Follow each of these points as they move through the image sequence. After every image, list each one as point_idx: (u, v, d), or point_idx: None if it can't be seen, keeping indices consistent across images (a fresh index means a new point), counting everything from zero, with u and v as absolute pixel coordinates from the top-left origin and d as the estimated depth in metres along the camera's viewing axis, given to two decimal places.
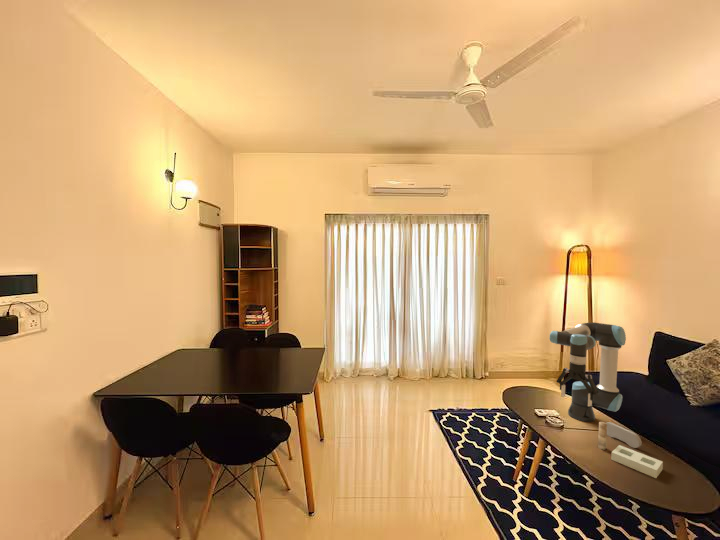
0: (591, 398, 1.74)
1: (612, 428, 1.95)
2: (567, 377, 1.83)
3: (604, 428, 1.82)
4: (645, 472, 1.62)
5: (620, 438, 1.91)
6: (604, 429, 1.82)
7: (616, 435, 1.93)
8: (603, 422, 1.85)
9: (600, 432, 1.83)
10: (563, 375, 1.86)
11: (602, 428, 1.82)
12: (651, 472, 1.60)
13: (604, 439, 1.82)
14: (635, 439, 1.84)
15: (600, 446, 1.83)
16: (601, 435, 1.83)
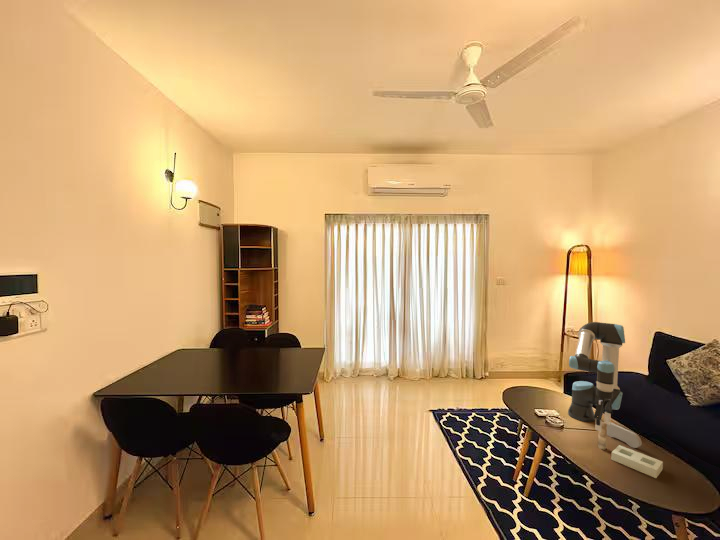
0: None
1: (612, 428, 1.95)
2: None
3: (604, 428, 1.82)
4: (645, 472, 1.62)
5: (620, 438, 1.91)
6: (604, 429, 1.82)
7: (616, 435, 1.93)
8: (603, 422, 1.85)
9: (600, 432, 1.83)
10: None
11: (602, 428, 1.82)
12: (651, 472, 1.60)
13: (604, 439, 1.82)
14: (635, 439, 1.84)
15: (600, 446, 1.83)
16: (601, 435, 1.83)
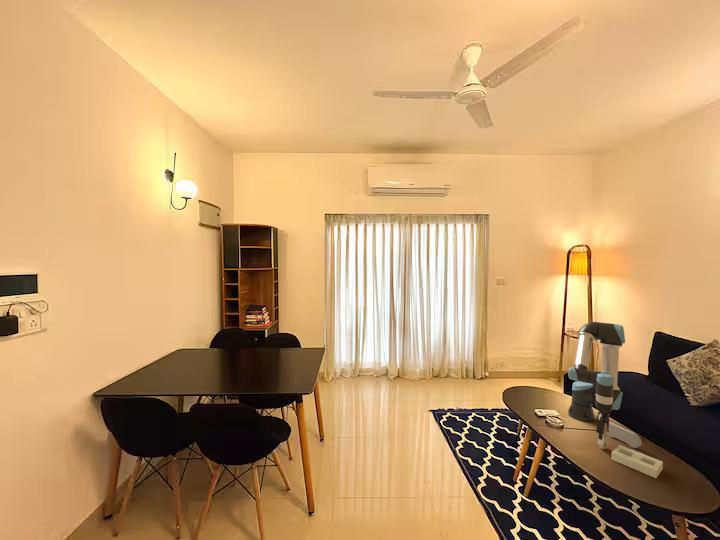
0: None
1: (612, 428, 1.95)
2: None
3: (604, 428, 1.82)
4: (645, 472, 1.62)
5: (620, 438, 1.91)
6: (604, 429, 1.82)
7: (616, 435, 1.93)
8: None
9: None
10: None
11: None
12: (651, 472, 1.60)
13: (604, 439, 1.82)
14: (635, 439, 1.84)
15: (600, 446, 1.83)
16: None
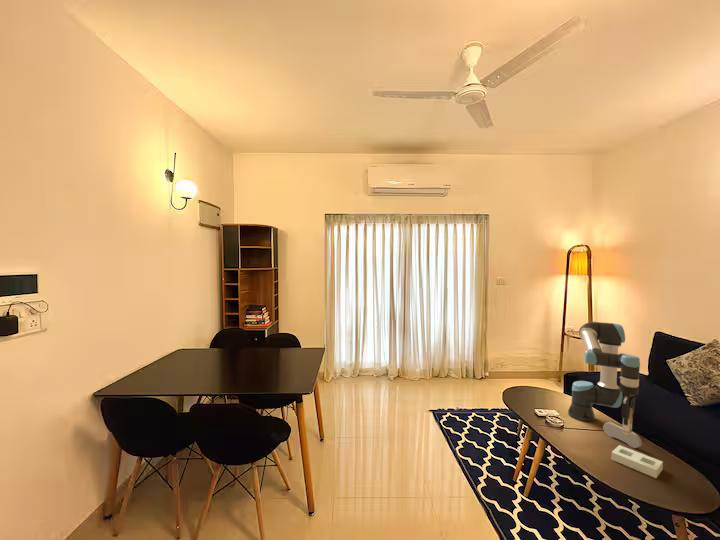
0: None
1: (612, 428, 1.95)
2: None
3: None
4: (645, 472, 1.62)
5: (620, 438, 1.91)
6: (630, 414, 1.70)
7: (616, 435, 1.93)
8: None
9: None
10: None
11: None
12: (651, 472, 1.60)
13: None
14: (635, 439, 1.84)
15: (625, 432, 1.71)
16: None
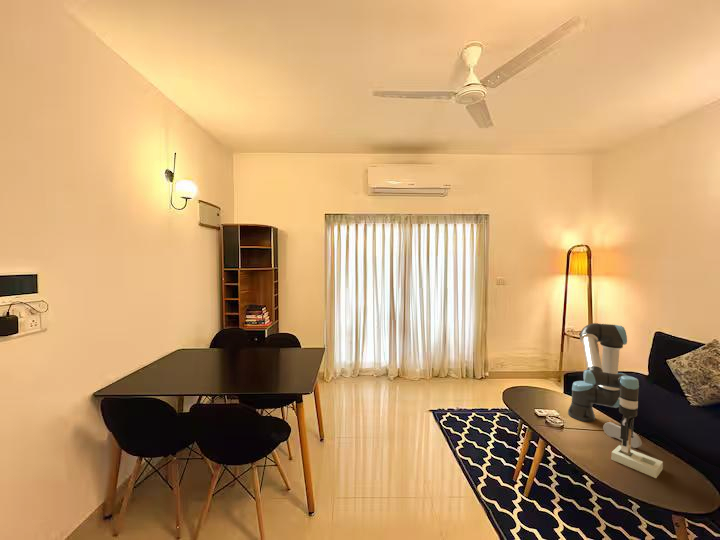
0: None
1: (612, 428, 1.95)
2: None
3: None
4: (645, 472, 1.62)
5: (620, 438, 1.91)
6: (629, 435, 1.71)
7: (616, 435, 1.93)
8: None
9: None
10: None
11: None
12: (651, 472, 1.60)
13: (628, 446, 1.71)
14: (635, 439, 1.84)
15: (624, 453, 1.72)
16: None
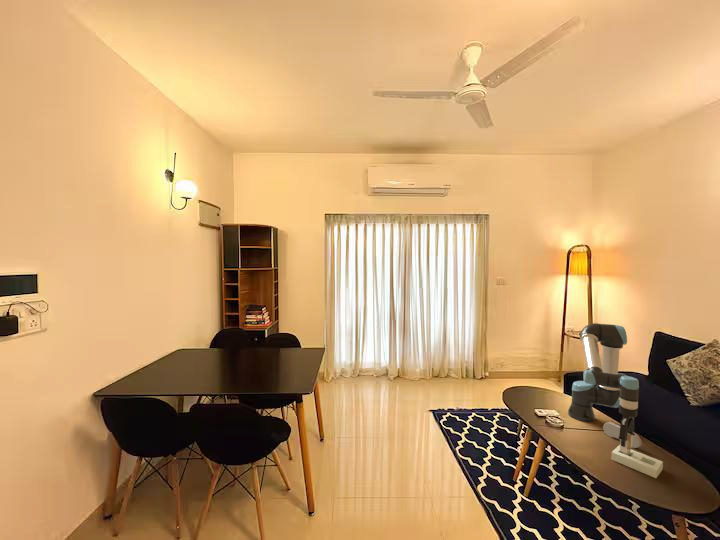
0: None
1: (612, 428, 1.95)
2: None
3: (628, 439, 1.71)
4: (645, 472, 1.62)
5: None
6: (629, 440, 1.71)
7: (616, 435, 1.93)
8: None
9: None
10: None
11: None
12: (651, 472, 1.60)
13: (628, 451, 1.71)
14: (635, 439, 1.84)
15: None
16: None
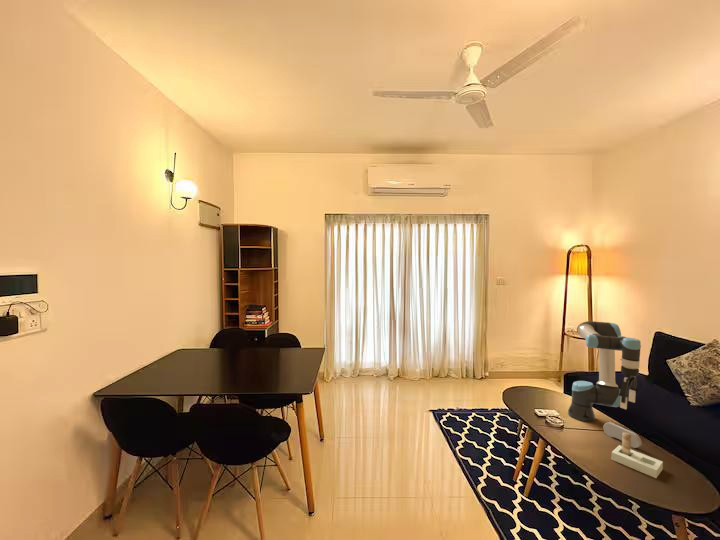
0: None
1: (612, 428, 1.95)
2: None
3: (628, 439, 1.71)
4: (645, 472, 1.62)
5: (620, 438, 1.91)
6: (629, 440, 1.71)
7: (616, 435, 1.93)
8: (627, 433, 1.74)
9: (624, 443, 1.72)
10: None
11: (626, 439, 1.71)
12: (651, 472, 1.60)
13: (628, 451, 1.71)
14: (635, 439, 1.84)
15: None
16: (625, 446, 1.72)
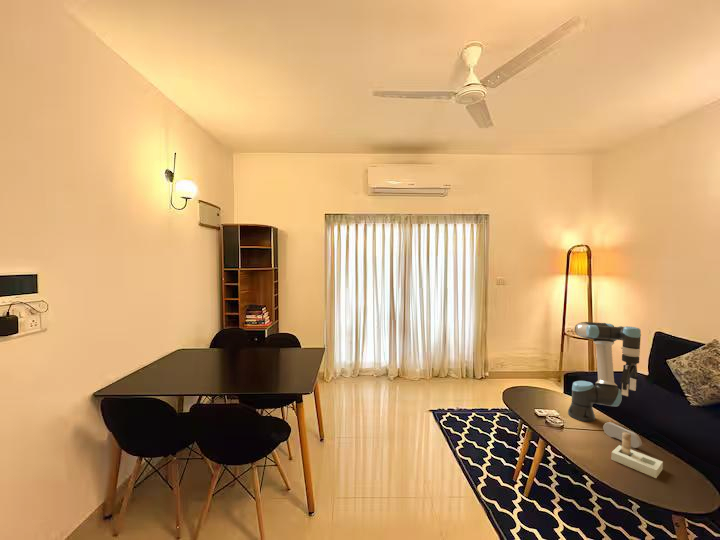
0: None
1: (612, 428, 1.95)
2: None
3: (628, 439, 1.71)
4: (645, 472, 1.62)
5: (620, 438, 1.91)
6: (628, 440, 1.71)
7: (616, 435, 1.93)
8: None
9: (623, 443, 1.72)
10: None
11: (626, 439, 1.71)
12: (651, 472, 1.60)
13: (628, 451, 1.71)
14: (635, 439, 1.84)
15: None
16: (625, 446, 1.72)
